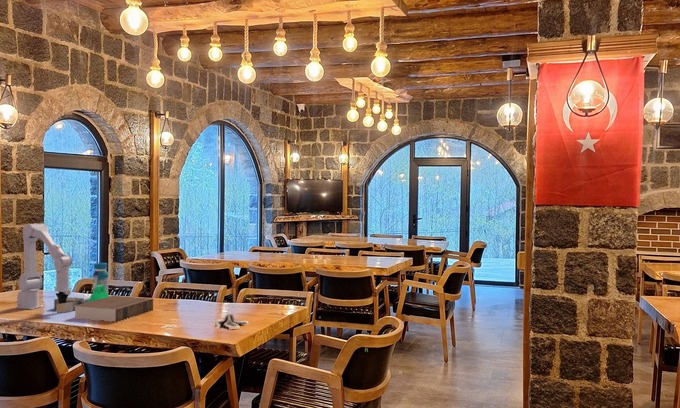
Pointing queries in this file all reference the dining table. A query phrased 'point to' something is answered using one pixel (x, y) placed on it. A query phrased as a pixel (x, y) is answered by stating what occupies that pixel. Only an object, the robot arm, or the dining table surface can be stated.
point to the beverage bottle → (100, 275)
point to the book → (113, 308)
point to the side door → (66, 307)
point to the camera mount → (98, 293)
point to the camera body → (76, 300)
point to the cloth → (229, 322)
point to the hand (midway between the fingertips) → (62, 307)
